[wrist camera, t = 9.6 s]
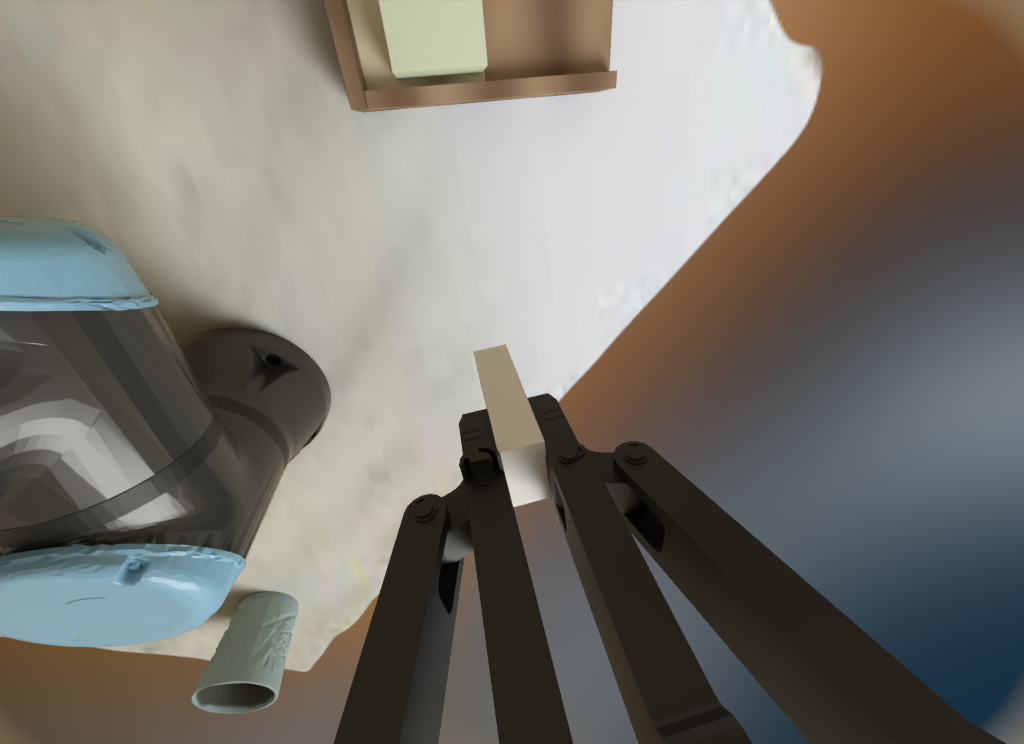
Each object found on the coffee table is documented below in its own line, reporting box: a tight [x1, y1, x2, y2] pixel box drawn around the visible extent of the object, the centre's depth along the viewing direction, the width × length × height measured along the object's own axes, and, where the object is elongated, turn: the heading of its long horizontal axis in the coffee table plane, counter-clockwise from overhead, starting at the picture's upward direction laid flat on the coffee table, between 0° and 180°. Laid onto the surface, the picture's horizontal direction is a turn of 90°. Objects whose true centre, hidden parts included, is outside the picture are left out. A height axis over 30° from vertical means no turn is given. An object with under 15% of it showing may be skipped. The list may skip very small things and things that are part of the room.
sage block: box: [379, 0, 488, 80], centre depth 25 cm, size 6×4×4 cm
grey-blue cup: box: [191, 592, 298, 713], centre depth 56 cm, size 10×10×12 cm
